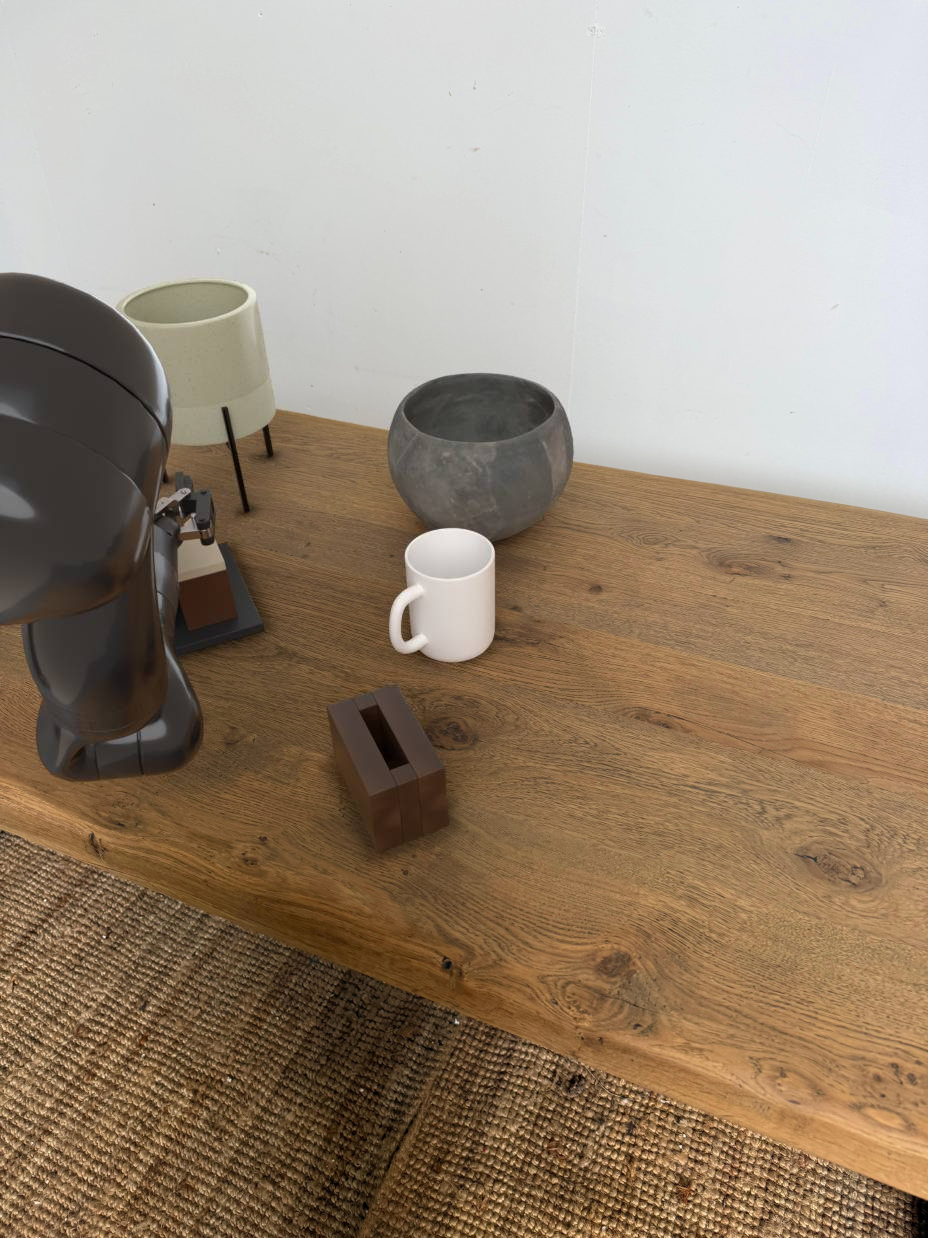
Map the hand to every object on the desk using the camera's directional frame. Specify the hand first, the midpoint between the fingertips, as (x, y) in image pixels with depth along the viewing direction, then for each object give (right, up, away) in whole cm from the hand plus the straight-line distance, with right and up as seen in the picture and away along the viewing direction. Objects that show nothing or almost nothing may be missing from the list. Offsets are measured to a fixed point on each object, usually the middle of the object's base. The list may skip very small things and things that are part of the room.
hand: (135, 486), depth 83 cm
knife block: (+26, -27, -12) cm, 39 cm away
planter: (+1, +5, +27) cm, 27 cm away
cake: (+1, -12, +7) cm, 14 cm away
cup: (+29, -15, +2) cm, 33 cm away
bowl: (+33, -1, +18) cm, 38 cm away
